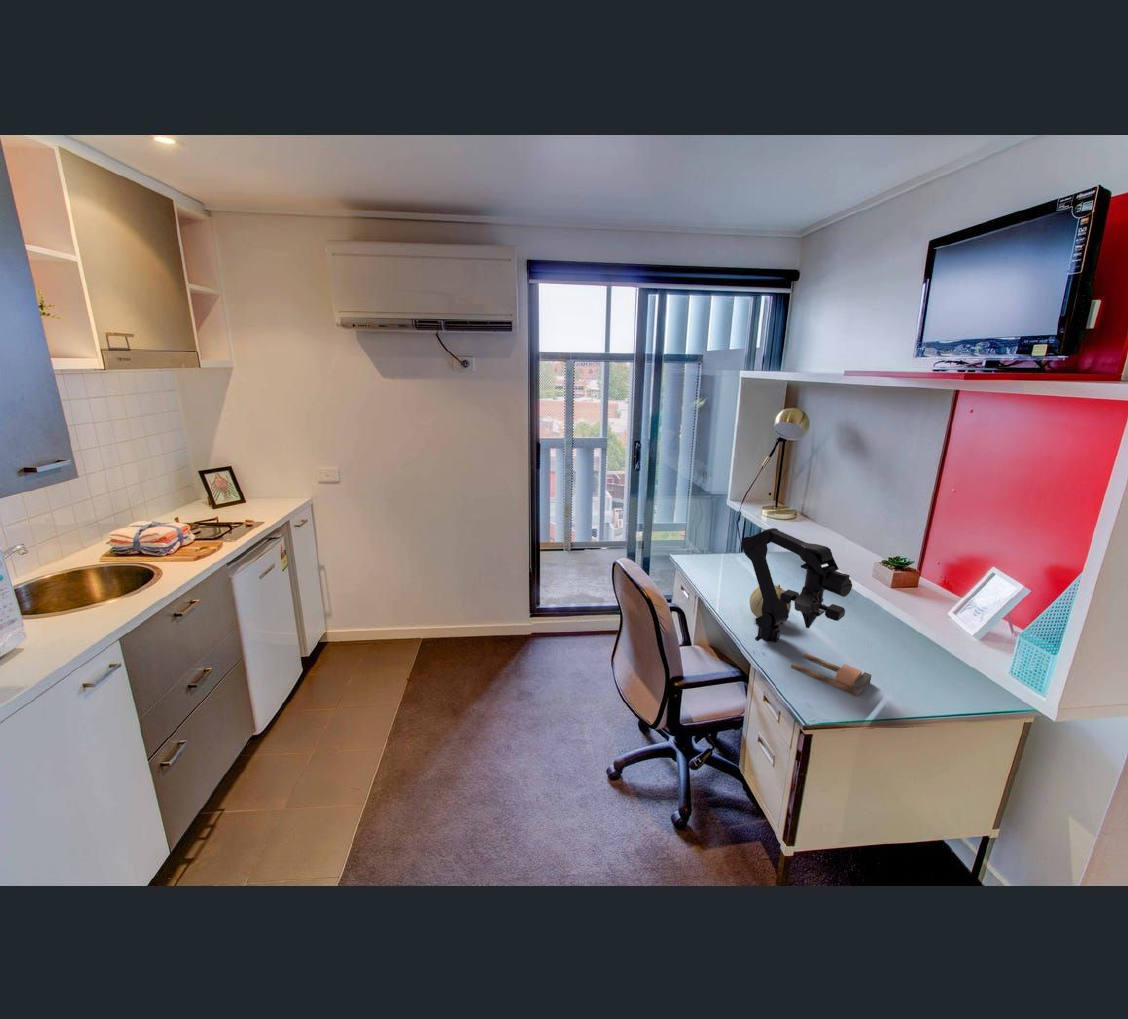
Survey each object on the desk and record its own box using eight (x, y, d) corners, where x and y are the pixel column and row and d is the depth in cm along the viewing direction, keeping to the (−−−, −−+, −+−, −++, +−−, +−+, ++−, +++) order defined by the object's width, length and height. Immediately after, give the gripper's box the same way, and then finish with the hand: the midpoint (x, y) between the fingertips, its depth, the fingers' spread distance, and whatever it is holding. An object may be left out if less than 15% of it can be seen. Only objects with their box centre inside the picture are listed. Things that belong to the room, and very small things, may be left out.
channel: (790, 669, 160) (792, 659, 159) (804, 658, 167) (805, 648, 166) (857, 699, 146) (859, 688, 145) (869, 686, 152) (871, 674, 151)
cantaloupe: (739, 616, 195) (743, 581, 191) (765, 608, 201) (770, 574, 197) (769, 633, 182) (774, 596, 178) (796, 624, 189) (802, 588, 185)
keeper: (835, 682, 152) (837, 671, 151) (842, 675, 156) (844, 664, 155) (852, 690, 148) (854, 678, 147) (859, 682, 152) (862, 671, 151)
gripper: (774, 582, 160) (768, 625, 164) (835, 601, 146) (827, 648, 151) (790, 573, 167) (784, 614, 171) (849, 591, 154) (841, 635, 158)
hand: (807, 627), depth 163 cm, fingers closed
